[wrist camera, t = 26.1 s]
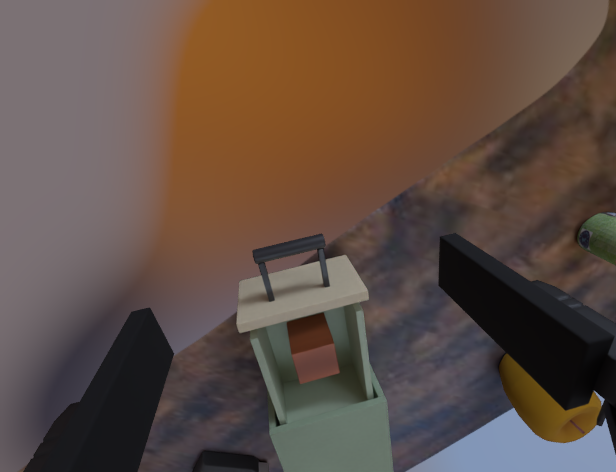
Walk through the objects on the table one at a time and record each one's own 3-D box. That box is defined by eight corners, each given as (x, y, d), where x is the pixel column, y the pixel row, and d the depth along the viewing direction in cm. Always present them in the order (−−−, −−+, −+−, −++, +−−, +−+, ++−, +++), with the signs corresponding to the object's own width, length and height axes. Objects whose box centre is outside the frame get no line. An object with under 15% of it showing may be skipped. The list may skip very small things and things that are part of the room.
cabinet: (266, 369, 43) (269, 435, 35) (360, 343, 44) (386, 401, 36) (292, 445, 52) (300, 513, 43) (371, 422, 53) (394, 484, 44)
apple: (470, 372, 52) (533, 450, 40) (514, 328, 49) (594, 398, 38) (507, 387, 56) (574, 462, 44) (549, 347, 53) (632, 415, 42)
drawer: (223, 236, 33) (216, 272, 26) (339, 208, 34) (362, 236, 27) (273, 382, 43) (278, 436, 36) (360, 358, 44) (380, 406, 37)
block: (286, 322, 38) (291, 355, 33) (323, 312, 38) (334, 343, 33) (293, 349, 40) (299, 384, 35) (329, 340, 40) (340, 373, 35)
